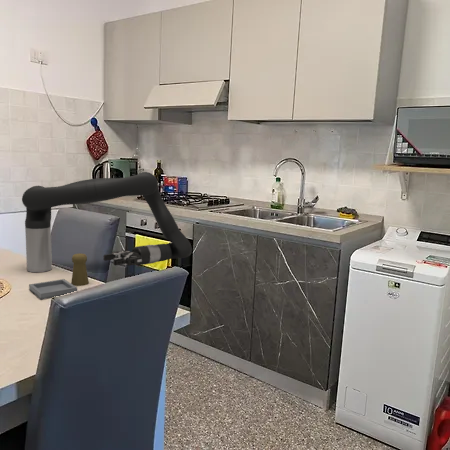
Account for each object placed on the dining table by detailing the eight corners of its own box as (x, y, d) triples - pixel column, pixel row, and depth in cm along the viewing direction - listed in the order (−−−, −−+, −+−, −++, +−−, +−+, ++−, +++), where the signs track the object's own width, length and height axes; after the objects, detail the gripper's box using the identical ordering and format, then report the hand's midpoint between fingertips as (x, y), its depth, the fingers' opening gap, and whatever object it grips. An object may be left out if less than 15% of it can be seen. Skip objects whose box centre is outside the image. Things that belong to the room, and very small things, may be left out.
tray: (29, 290, 151) (29, 284, 151) (64, 284, 159) (64, 278, 159) (40, 299, 142) (40, 293, 142) (77, 293, 150) (77, 287, 150)
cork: (83, 286, 157) (82, 256, 155) (67, 285, 158) (67, 255, 156) (91, 281, 163) (91, 252, 161) (76, 280, 164) (76, 251, 162)
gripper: (137, 242, 182) (100, 247, 171) (155, 248, 171) (117, 254, 161) (137, 260, 183) (100, 265, 173) (155, 267, 172) (117, 274, 162)
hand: (108, 260), depth 167 cm, fingers open, 8 cm apart
